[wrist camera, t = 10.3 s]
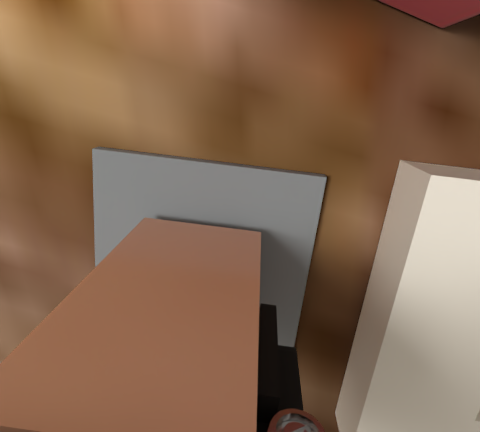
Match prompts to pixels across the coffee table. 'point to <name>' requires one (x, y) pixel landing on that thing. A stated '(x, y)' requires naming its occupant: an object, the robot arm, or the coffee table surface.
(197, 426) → the terracotta block
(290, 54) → the coffee table surface
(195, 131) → the coffee table surface
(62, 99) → the coffee table surface
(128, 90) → the coffee table surface
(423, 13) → the puzzle cube
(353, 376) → the cream pocket board
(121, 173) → the slate mat
